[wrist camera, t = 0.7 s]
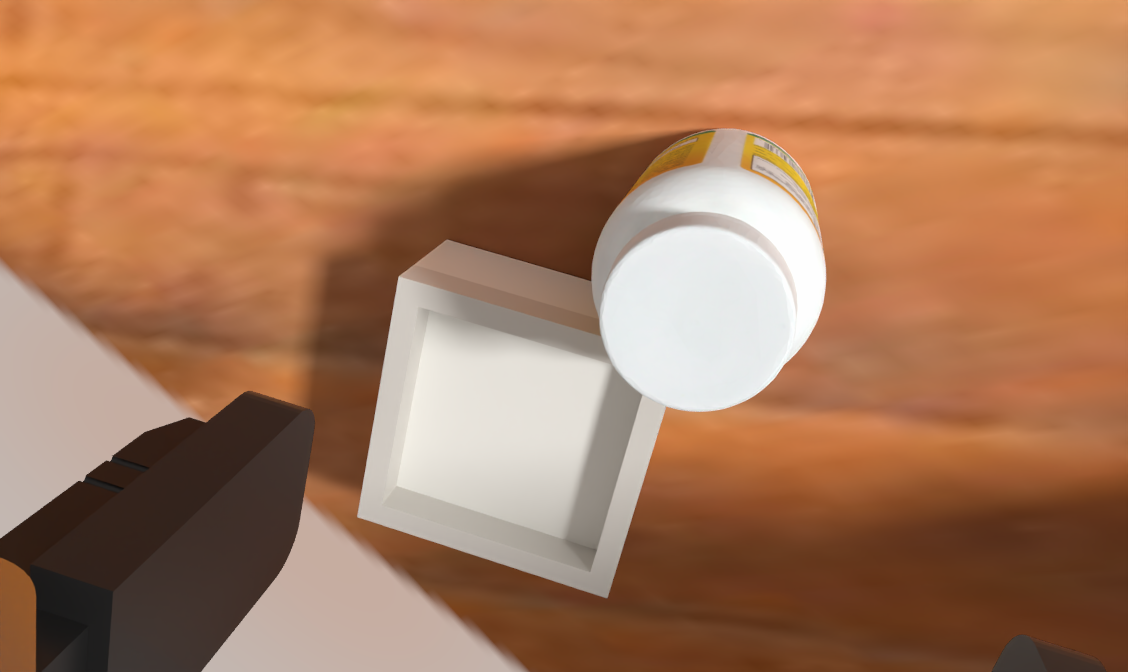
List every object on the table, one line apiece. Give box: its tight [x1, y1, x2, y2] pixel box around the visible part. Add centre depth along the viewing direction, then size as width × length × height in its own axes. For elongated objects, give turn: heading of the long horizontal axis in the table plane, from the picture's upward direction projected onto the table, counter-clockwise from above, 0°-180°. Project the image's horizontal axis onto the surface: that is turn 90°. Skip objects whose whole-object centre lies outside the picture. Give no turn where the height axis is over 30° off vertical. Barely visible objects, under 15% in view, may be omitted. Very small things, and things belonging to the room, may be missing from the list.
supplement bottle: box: [591, 128, 826, 412], centre depth 23 cm, size 5×5×10 cm
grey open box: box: [357, 240, 666, 598], centre depth 29 cm, size 8×8×4 cm
